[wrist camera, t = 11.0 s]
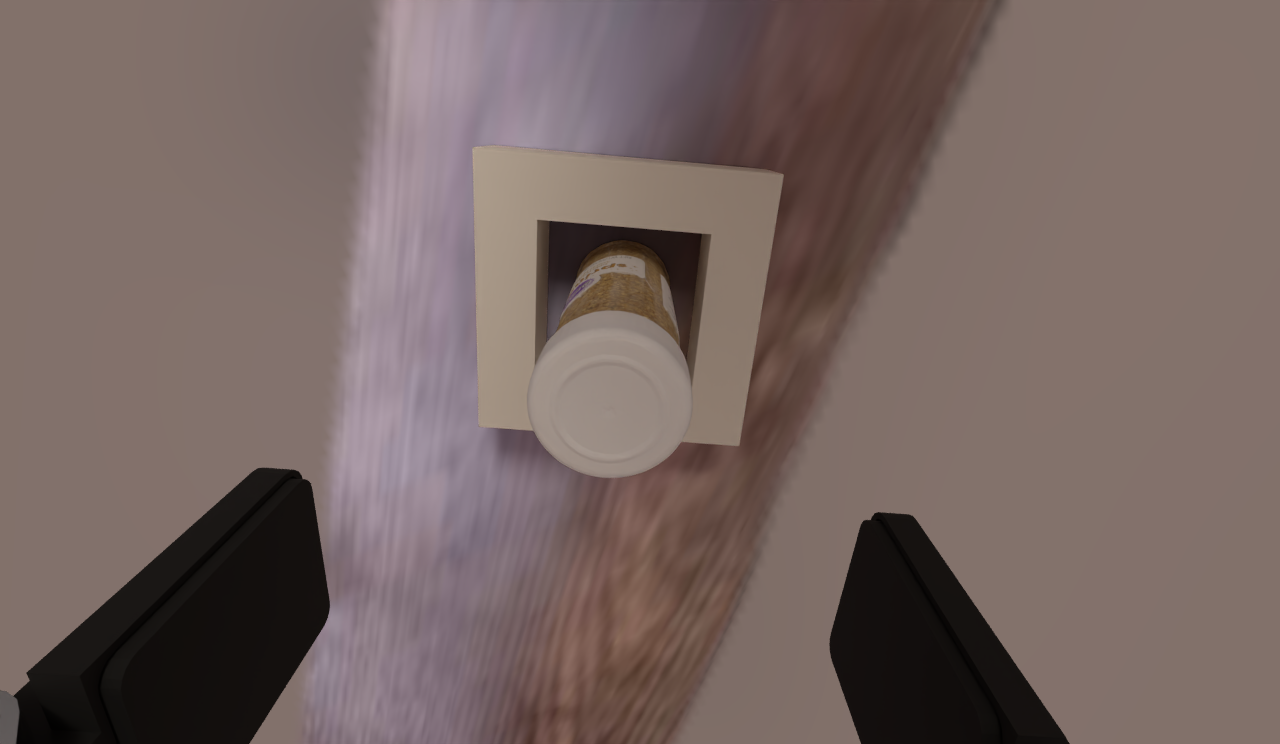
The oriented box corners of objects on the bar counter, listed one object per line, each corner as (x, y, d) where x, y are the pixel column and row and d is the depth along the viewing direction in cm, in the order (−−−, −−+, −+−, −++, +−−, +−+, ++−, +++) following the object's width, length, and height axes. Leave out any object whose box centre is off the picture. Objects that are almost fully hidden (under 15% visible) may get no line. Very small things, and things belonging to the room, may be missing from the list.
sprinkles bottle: (600, 221, 27) (567, 299, 15) (688, 266, 28) (726, 377, 15) (559, 307, 29) (497, 444, 16) (643, 348, 29) (645, 508, 17)
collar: (493, 145, 26) (472, 147, 23) (766, 169, 26) (783, 174, 23) (496, 395, 30) (478, 426, 27) (728, 412, 31) (739, 446, 27)
